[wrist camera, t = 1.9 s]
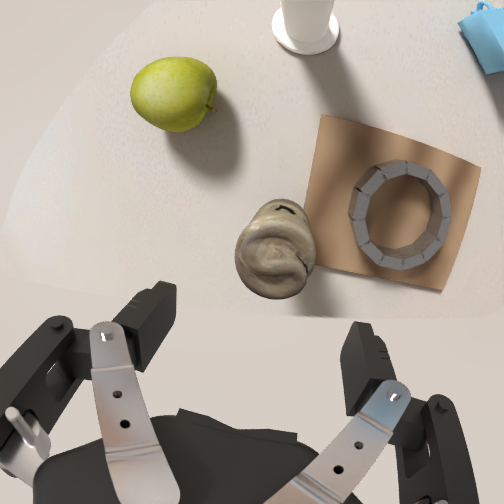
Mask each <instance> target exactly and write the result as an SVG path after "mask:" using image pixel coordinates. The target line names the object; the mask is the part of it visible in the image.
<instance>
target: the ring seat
mask: <svg viewBox="0 0 504 504" xmlns="http://www.w3.org/2000/svg"><path fill="white" fill-rule="evenodd" d="M404 174H409V175H412V176H415V177H416V178H417V179H418V180H419V181H420V182H421V184H422V185H423V186H424V187H425V188H426V190H427V191H428V195H429V201H430V206H431V213H430V217H429V220H428V224H427V227H426V230H425V231H424V232H423V233H422V234H421V235H420V236H419V237H418V238H417V239H416V240H415V242H414V243H413V244H410V245H407V246H404V247H401V248H397V249H392V248H387V247H383V246H379V245H377V244H376V243H375V242H374V241H373V240H372V239H371V238H370V237H369V234H368V230H367V226H366V223H365V217H366V213H367V209H368V205H369V201H370V197H371V196H372V195H373V193H374V192H375V191H376V190H377V189H378V188H379V187H380V186H381V185H382V184H383V183H384V181H385V180H387V179H390V178H394V177H397V176H400V175H404ZM355 186H356V187H357V188H356V187H353V190H352V195H351V199H350V203H349V208H348V216H349V220H350V224H351V227H352V231H353V234H354V237H355V239H356V241H357V243H358V245H359V247H360V248H361V249H362V250H363V251H364V252H365V253H366V254H367V255H368V256H369V257H370V258H371V259H372V260H373V261H374V262H375V263H376V264H377V265H379V266H382V267H387V268H392V269H397V270H402V269H403V270H406V269H409V268H412V267H415V266H418V265H421V264H423V263H425V261H426V262H427V261H428V260H429V259H430V258H431V257H432V256H433V255H434V254H435V253H436V252H437V251H438V250H439V248H440V247H441V246H442V245H443V243H442V242H445V239H446V236H447V233H448V230H449V227H450V223H451V220H452V218H450V217H452V212H451V206H450V199H449V194H448V191H447V189H446V187H445V186H444V185H443V183H442V182H441V181H440V179H439V178H438V177H437V176H436V174H435V173H434V172H433V171H432V170H430V169H429V168H426V167H423V166H420V165H417V164H415V163H412V162H408V161H405V160H400V159H393V160H390V161H386V162H383V163H379V164H376V165H373V167H370V168H369V169H368V170H367V171H366V173H365V174H364V175H363V176H362V177H361V178H360V179H359V180H358V181H357V182H356V184H355Z"/></svg>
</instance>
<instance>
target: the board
mask: <svg viewBox="0 0 504 504" xmlns="http://www.w3.org/2000/svg"><path fill="white" fill-rule="evenodd" d="M393 159H400V160H405V161H408V162H412V163H415V164H417V165H420V166H423V167H426V168H429V169H430V170H432V171H433V172H434V173H435V174H436V176H437V177H438V178H439V179H440V181H441V182H442V183H443V185H444V186H445V187H446V189H447V191H448V194H449V199H450V206H451V212H452V217H450V218H452V220H451V223H450V227H449V230H448V233H447V236H446V239H445V242H442V243H443V245H442V246H441V247H440V248H439V250H438V251H437V252H436V253H435V254H434V255H433V256H432V257H431V258H430V259H429V260H428V261H427V262H426V261H425V263H423V264H421V265H418V266H415V267H412V268H409V269H406V270H403V269H402V270H397V269H392V268H387V267H382V266H379V265H377V264H376V263H375V262H374V261H373V260H372V259H371V258H370V257H369V256H368V255H367V254H366V253H365V252H364V251H363V250H362V249H361V248H360V247H359V245H358V243H357V241H356V239H355V237H354V234H353V231H352V227H351V224H350V220H349V216H348V208H349V203H350V199H351V195H352V190H353V187H356V186H355V184H356V182H357V181H358V180H359V179H360V178H361V177H362V176H363V175H364V174H365V173H366V171H367V170H368V169H369V168H370V167H373V165H376V164H379V163H383V162H386V161H390V160H393ZM480 172H481V168H480V167H478V166H476V165H474V164H472V163H470V162H467V161H465V160H463V159H461V158H458V157H456V156H454V155H451V154H449V153H446V152H444V151H442V150H439V149H436V148H434V147H431V146H429V145H426V144H423V143H421V142H418V141H415V140H412V139H409V138H406V137H403V136H400V135H397V134H394V133H391V132H388V131H385V130H381V129H378V128H374V127H371V126H367V125H364V124H360V123H356V122H353V121H349V120H345V119H340V118H336V117H332V116H327V115H323V114H322V115H321V119H320V125H319V131H318V137H317V142H316V148H315V153H314V159H313V164H312V170H311V175H310V180H309V185H308V190H307V195H306V200H305V205H304V212H305V213H306V215H307V217H308V220H309V224H310V232H311V234H312V236H313V239H314V242H315V248H316V261H315V265H319V266H324V267H329V268H334V269H339V270H344V271H349V272H354V273H359V274H364V275H369V276H374V277H379V278H384V279H389V280H394V281H399V282H404V283H409V284H414V285H419V286H424V287H429V288H434V289H439V290H443V289H444V287H445V285H446V282H447V280H448V277H449V275H450V272H451V270H452V267H453V265H454V262H455V259H456V257H457V254H458V251H459V248H460V245H461V242H462V239H463V236H464V233H465V230H466V227H467V223H468V220H469V217H470V213H471V209H472V206H473V202H474V198H475V194H476V190H477V186H478V181H479V177H480ZM356 188H357V187H356ZM430 213H431V206H430V201H429V195H428V191H427V190H426V188H425V187H424V186H423V185H422V184H421V182H420V181H419V180H418V179H417V178H416V177H415V176H412V175H409V174H404V175H400V176H397V177H394V178H390V179H387V180H385V181H384V183H383V184H382V185H381V186H380V187H379V188H378V189H377V190H376V191H375V192H374V193H373V195H372V196H371V197H370V201H369V205H368V209H367V213H366V217H365V223H366V226H367V230H368V234H369V237H370V238H371V239H372V240H373V241H374V242H375V243H376V244H377V245H379V246H383V247H387V248H392V249H397V248H401V247H404V246H407V245H410V244H413V243H414V242H415V240H416V239H417V238H418V237H419V236H420V235H421V234H422V233H423V232H424V231H425V230H426V227H427V224H428V220H429V217H430Z"/></svg>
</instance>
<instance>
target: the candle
mask: <svg viewBox="0 0 504 504" xmlns="http://www.w3.org/2000/svg"><path fill="white" fill-rule="evenodd" d="M280 3H281V8H279V9H278V10H277V12H276V13H275V15H274V17H273V19H272V30H273V34H274V36H275V38H276V39H277V41H278V42H279V43H280V44H281V45H282V46H283V47H285V48H286V49H288V50H290V51H292V52H295V53H299V54H305V55H312V54H318V53H321V52H324V51H326V50H328V49H329V48H330V47H332V46H333V44H334V43H335V42H336V40H337V38H338V35H339V25H338V22H337V19H336V17H335V16H334V15H333V13H332V8H333V4H334V0H280Z"/></svg>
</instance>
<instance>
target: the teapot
mask: <svg viewBox="0 0 504 504" xmlns="http://www.w3.org/2000/svg"><path fill="white" fill-rule="evenodd" d="M483 5H486V6H487V7H488V8H489V9H484V10H482V9H483ZM458 24H459V26H460V28H461V29H462V31H463V35H464V37H465V38H466V39H467V40H468V41H469V43H470V45H471V46H472V48H473V50H474V52H475V54H476V56H477V60H478V63H479V64H480V65H481V66H482V67H483V70H484V72H485V74H486V75H487V74H492V73H496V72H500V71H504V8H494V7H493V6H492V5H491V4H490V3H489V2H487V1H483V0H482V1H479V2H478V4H477V11H475V10H473V11H471V15H470V16H468V17H466V18H465V19H463V20H462V21H460V22H458Z"/></svg>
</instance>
